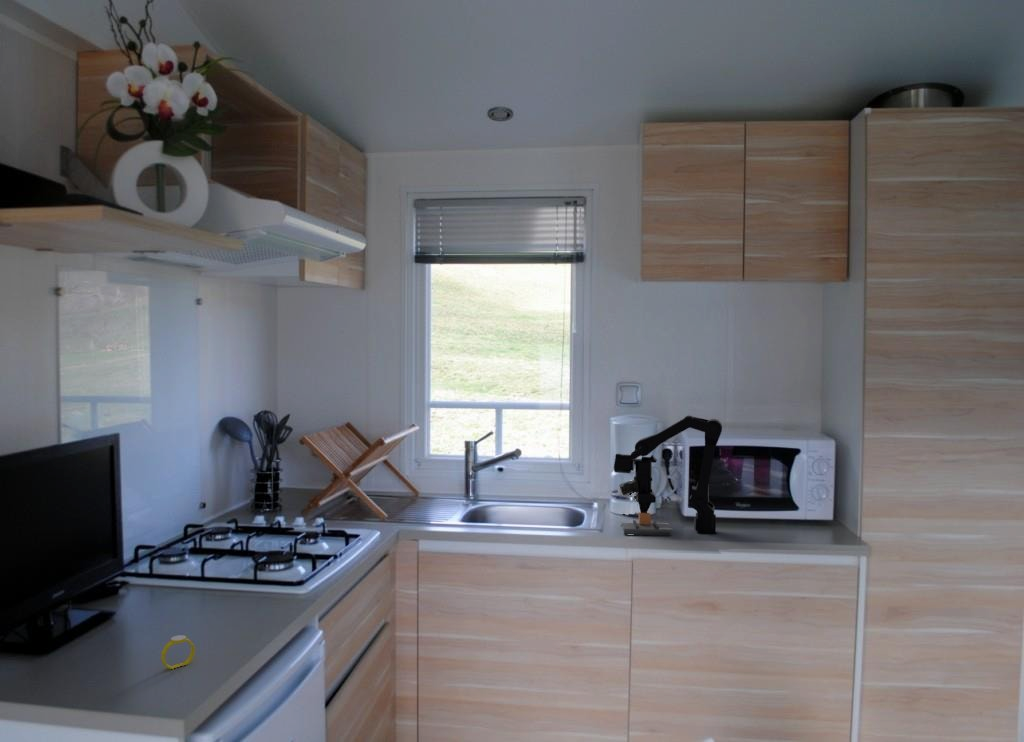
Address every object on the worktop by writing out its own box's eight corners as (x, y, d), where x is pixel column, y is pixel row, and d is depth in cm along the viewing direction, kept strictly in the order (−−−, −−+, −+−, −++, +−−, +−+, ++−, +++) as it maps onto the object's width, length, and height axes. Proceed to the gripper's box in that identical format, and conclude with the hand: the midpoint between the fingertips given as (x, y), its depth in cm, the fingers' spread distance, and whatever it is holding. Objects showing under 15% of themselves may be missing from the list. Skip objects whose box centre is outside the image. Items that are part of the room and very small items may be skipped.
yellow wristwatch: (190, 661, 141) (192, 632, 141) (195, 666, 139) (197, 636, 139) (159, 668, 137) (161, 638, 137) (163, 673, 135) (165, 642, 135)
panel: (668, 529, 246) (668, 520, 246) (672, 535, 238) (672, 526, 238) (621, 528, 247) (621, 520, 246) (623, 534, 239) (624, 525, 238)
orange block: (649, 522, 246) (650, 512, 246) (650, 524, 243) (651, 514, 243) (638, 522, 246) (638, 512, 246) (639, 524, 244) (639, 514, 243)
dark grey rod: (669, 535, 238) (669, 531, 238) (670, 536, 236) (670, 532, 236) (623, 534, 238) (623, 531, 238) (624, 535, 237) (624, 532, 237)
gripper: (618, 469, 258) (618, 510, 259) (623, 478, 240) (623, 523, 240) (648, 469, 258) (648, 511, 258) (656, 479, 239) (655, 523, 240)
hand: (643, 517), depth 249 cm, fingers closed
